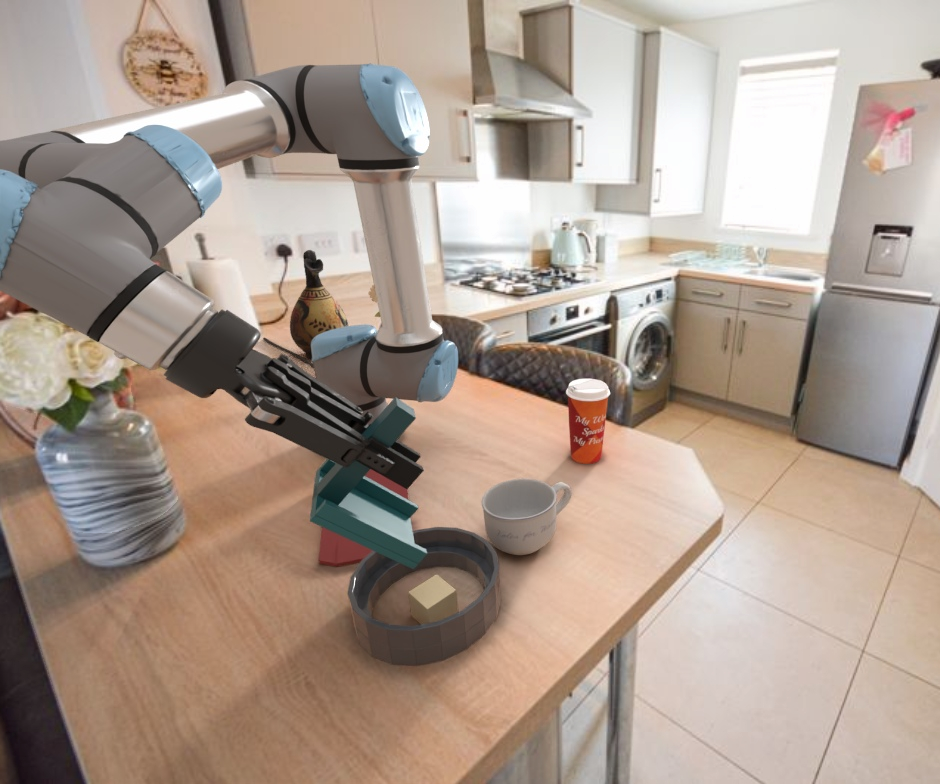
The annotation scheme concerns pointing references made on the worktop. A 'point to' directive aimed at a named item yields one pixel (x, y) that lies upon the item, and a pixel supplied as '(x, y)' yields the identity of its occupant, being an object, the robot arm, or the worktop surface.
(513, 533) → the teacup
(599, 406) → the coffee cup
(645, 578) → the worktop surface
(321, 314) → the ceramic jug
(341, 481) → the teal post tray
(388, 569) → the dark grey ring
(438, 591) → the cream block
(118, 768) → the worktop surface
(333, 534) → the red flat panel
